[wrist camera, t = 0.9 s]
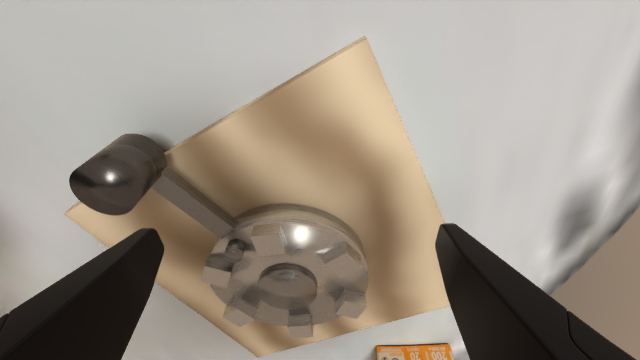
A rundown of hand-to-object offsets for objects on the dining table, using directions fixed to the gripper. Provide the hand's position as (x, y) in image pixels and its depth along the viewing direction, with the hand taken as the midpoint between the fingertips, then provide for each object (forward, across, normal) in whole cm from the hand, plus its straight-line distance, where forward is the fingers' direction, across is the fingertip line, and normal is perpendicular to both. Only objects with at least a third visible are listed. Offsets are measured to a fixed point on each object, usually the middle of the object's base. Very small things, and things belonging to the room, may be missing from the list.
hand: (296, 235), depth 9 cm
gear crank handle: (+9, +5, +8) cm, 13 cm away
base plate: (+10, +5, +13) cm, 17 cm away
